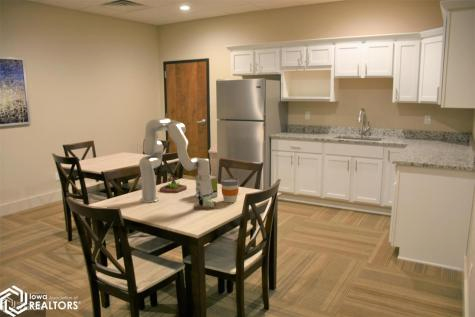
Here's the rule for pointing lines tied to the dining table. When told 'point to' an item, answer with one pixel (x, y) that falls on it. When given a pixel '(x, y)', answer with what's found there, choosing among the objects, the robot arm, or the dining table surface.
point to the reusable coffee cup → (230, 189)
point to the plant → (173, 187)
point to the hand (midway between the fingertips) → (204, 203)
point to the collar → (207, 201)
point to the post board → (199, 207)
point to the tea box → (214, 186)
